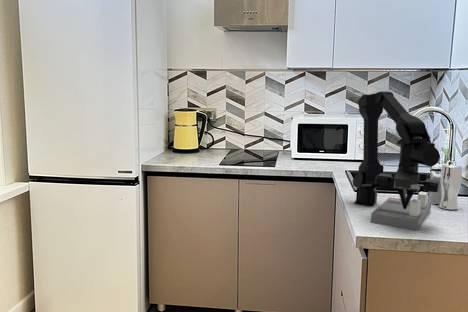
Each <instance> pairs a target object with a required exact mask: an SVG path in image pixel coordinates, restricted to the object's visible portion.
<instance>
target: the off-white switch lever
mask: <svg viewBox="0 0 468 312" xmlns="http://www.w3.org/2000/svg"><path fill="white" fill-rule="evenodd" d="M410 201H411V203H410V216H416V217H418V215H419V214H420V207H421V200H418V199H416V198H415V199H414V198H413V199H411V200H410Z"/></svg>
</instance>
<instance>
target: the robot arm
mask: <svg viewBox="0 0 468 312" xmlns="http://www.w3.org/2000/svg"><path fill="white" fill-rule="evenodd" d="M357 105H358V112H359V114H360V116H361V118H362V120H363V157H362V158H363V159H362V160H361V163H360V164H359V166H358V170H357V174H356V175H355V177H354V178H353V179H352V184H353V186H354V187H356V197H355V198H356V199H355V201H354V202H353V203H354V204H356V205H364V206H367V207H368V206H370V207H372V206H374V205H375V204H376V203H377V201H378V191H377V188H378V189H379V188H381V187H382V186H386V185H387V184H388V183H389V184H393V187H392V188H393V190H396V191H397V193H398V194H399V199H401V202H402V205H403V209H406V208H407V206H408V204H409V202H410V201H412V198H413V196H414V194H415V193H417V192H418V193H419V192H420V190H421V188H423V189H424V190H425V191H426V192H429V191H430V192H438V191H439V190H440V184H441V183H440V181H439V180H432V179H430V178H427V179H425V180H424V181H422V180H420V172H419V165H422V166H426V167H434V166H436V165H437V164H438V163H439V161H440V157H441V154H440V151H439V149H438V148H436V144H435V143H434V142H432V140H431V136H430V135H429V132H428V129H427V128H426V124H425V122H424V121H423V120H422V119H420V118H419V117H417V116H414V115H412V114H410V113H409V112H408V110H407V109H405V108H404V106H403V105H402V104H401V103H400V102H399V100H397V98H396V97H395V96H394V93H393V92H391V91H381V90H380V91H377V92H376V93H371V94H362V95H361V96H360V97H359V99H358V101H357ZM384 111H385V112H386V113H387V114H388V115H389V117H390V118H391V119H392V121H393V122H394V123H395V131H396V133H397V134H398V136H399V137H400V139H399V140H398V141H397V142H396V144H397V145H400V149H399V161H398V162H399V163H398V168H397V170H396V172H395V174H394V177H393V176H392V175H393V174H391V173H385V172H384V169H385V167H384V164H381V163H380V161H379V154H378V153H379V119H380V117H381V115H383V112H384Z"/></svg>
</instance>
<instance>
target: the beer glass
mask: <svg viewBox="0 0 468 312" xmlns="http://www.w3.org/2000/svg"><path fill="white" fill-rule="evenodd" d="M440 168H441V170H440V172H441V174H440V183H441V184H440V188H441V200H440V204H439V205H438V207H439V208H440V209H444V210H458V195H459V192H460V189H461V185H462V180H463V179H462V178H463V167H462V166H460V165H452V164H442V165H441V167H440Z"/></svg>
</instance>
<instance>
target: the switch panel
mask: <svg viewBox="0 0 468 312" xmlns="http://www.w3.org/2000/svg"><path fill="white" fill-rule="evenodd" d="M411 201H412V200H410V202H409V204H408V206H407V208H406V209H403V205H402V202H401V198H397V197H396V198H395V197H388V198H387V199H386V200H385V201H384V202H383V203H381V204H380V205H379V206H378V207H377V208H376V209H374V211H372V212H371V213H370V214H371V216H370V223H372V222H373V224H379V225H385V226H390V227H395V228H396V227H397V228H401V229H407V230H413V231H418V230H419V229H420V227H421V226H422V224H423V223H424V221H425V220H426V218H427V217H428V216H429V215H430V213H431V210H432V209H431V208H432V204H431V203H429V202H427V205H426V207H425V208H422V207H420V214H419V215H418V217H416V216H410V203H411Z"/></svg>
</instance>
